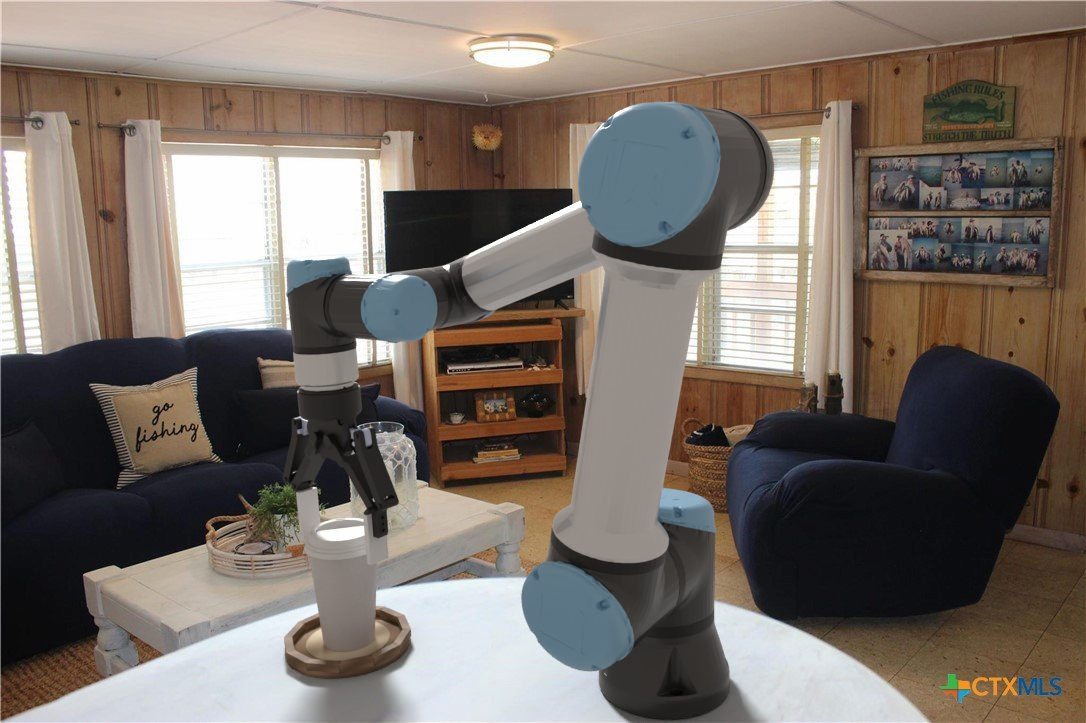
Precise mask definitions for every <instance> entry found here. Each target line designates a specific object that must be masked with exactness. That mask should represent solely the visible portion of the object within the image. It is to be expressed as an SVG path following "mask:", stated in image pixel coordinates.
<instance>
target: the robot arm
mask: <svg viewBox="0 0 1086 723" xmlns="http://www.w3.org/2000/svg"><path fill="white" fill-rule="evenodd" d="M578 168H579V169H578V177H577V191H578V198H579V201H578V202H575V203H573V204H571V205H569V206H567V207H564V208H563V209H560V210H559V211H556V212H554V213H553V214H549V215H548V216H545V217H544V218H542V219H539V220H537V221H536V222H535V221H534V222H533V223H531V224H528V225H527V226H525V227H523V228H521V229H518V230H517V231H514V232H512V233H510V234H507V235H506V236H504V237H502V238H500V239H497V240H496V241H493V242H492V243H489V244H487V245H485V246H483V247H481V248H478V249H477V250H474V251H472V252H470V253H469V254H467V255H464V256H462V257H460V258H458V259H456V260H454V261H452V262H449V263H447V264H444V265H439V266H433V267H426V268H419V269H410V270H409V269H408V270H401V271H394V272H388V273H387V272H386V273H376V274H375V273H374V274H367V273H366V274H355V273H353V271H352V269H351V265H350V261H349V259H348V258H347V257H345V256H341V255H326V256H325V255H323V256H309V257H299V258H294V259H292V260H290V261H289V262H288V264H287V266H286V293H285V294H286V298H287V302H288V311H289V312H288V313H289V321H290V332H291V340H292V348H293V349H292V350H293V352H292V354H293V356H292V357H293V365H294V377H295V383H296V384H297V385H298V386H300V387H298V390H297V391H296V393H297V394H296V395H297V404H298V405H297V406H298V413H299V414H298V415H299V416H297V417H292V419H291V437H290V443H289V446H288V451H287V456H286V461H285V464H284V465H285V466H284V468H283V469H284V470H283V474H282V481H283V483H284V484H287V485H288V484H290V486H291V489H292V490H293V491H294V492H295V493H294V494H295V502H296V510H297V514H298V515H297V517H298V524H299V535H300V541H302V542H306V540H307V538H308V537H309V534H310V530H311V529H312V528H313V527H314V526H316V525H318V524H320V523H321V517H320V516H321V515H320V506H319V495H318V487H317V486H316V487H315V486H314V485H317V484H318V483H317V482H316V478H317V476H318V474H319V472H320V470H321V469H322V468H321V467H322V466H323V463H324V462H325V460H326V459H330V460H331V461H333V462H336V463H337V465H338V466H339V468H343V470H345V472H346V474H347V475H348V477H349V479H350V480H351V483H352V485H353V487H354V488H355V491H356V492H357V493H358V495H359V497H360V499H361V501H362V502H363V505H364V506H365V507H366V509H365V510H364V511H363V512H362V519H363V521H364V533H365V544H366V556H367V564H369V565H373V564H375V563H377V564H378V563H379V562H380V563H381V562H382V561H385V560H387V559H388V558H389V557H390V556H389V547H388V546H389V545H388V537H387V536H388V534H389V524H388V509H391V508H393V507H396V506H398V505H399V503H400V500H399V497H398V495H397V491H396V489H395V487H394V485H393V482H392V481H393V480H392V479H391V476H390V473H389V471H388V469H387V465H386V463H385V461H384V458H383V456H382V453H381V450H380V447H379V445H378V439H377V432H376V429H375V428H374V426H368V427H365V428H359V426H358V425H357V421H356V420H357V416H358V415H359V414H361V412H362V410H363V406H362V404H363V403H362V394H361V385H360V384H359V383H358V382H356V381H357V380H358V379H359V378H360V377H359V376H360V375H359V374H360V373H359V372H360V371H359V362H358V355H357V354H358V353H357V346H358V345H357V339H358V340H359V339H360V340H369V341H370V340H371V341H381V342H387V343H390V344H391V343H392V344H398V343H401V342H403V343H405V342H406V343H407V342H409V343H411V342H417V341H419V340H422V339H423V338H424V337H425V336H426V335H427V334H428V333H429V332H430V331H435V330H438V329H443V328H447V327H453V326H458V325H463V324H464V325H469V324H472V323H473V324H474V323H475V322H479V321H481V320H483V319H486V318H488V317H490V316H492V314H494V313H495V311H496V310H498V309H500V308H503V307H506V306H508V305H510V304H513V303H515V302H517V301H520V300H523V299H525V298H527V297H530V296H532V295H534V294H537V293H539V292H542V291H544V290H547V289H549V288H552V287H554V286H557V285H559V284H562V283H565V282H566V281H569V280H572V279H573V278H577V277H579V276H581V275H583V274H586V273H588V272H591V271H594V270H596V269H599V268H600V267H602V268H603V270H604V272H605V273H604V279H603V286H602V292H601V298H600V299H601V300H600V306H599V313H598V319H597V325H596V332H595V333H596V334H595V339H594V340H595V341H594V347H593V354H592V359H591V360H592V361H591V367H590V373H589V381H588V386H587V392H586V393H587V394H586V400H585V407H584V414H583V420H582V427H581V432H580V438H579V439H580V440H579V446H578V447H579V448H578V452H577V453H578V454H577V460H576V467H575V473H574V480H573V487H572V492H571V501H570V504H569V505H566V506H565V507H564V508H562V509H560V510H559V511H558V512H556V514H555V515H554V517H553V520H552V525H551V531H550V536H549V544H548V545H549V546H548V550H547V556H546V558H545V561H543V562H540V563H539V564H537V565H536V566H534V567H533V568H532V570H531V572H530V573H529V574H528V575H527V576H526V578H525V580H524V582H523V585H522V587H521V594H520V596H521V597H520V598H521V601H520V602H521V609H522V613H523V616H524V619H525V622H526V624H527V626H528V628H529V631H530V632H531V633H533V635H534V636H535V638H536V641H537V643H538V644H539V645H540V646H541V647H542V648H543V650H545V651H546V653H548V654H549V655H550V656H551V657H552V658H553V659H555V660H556V661H558V662H559V663H561V664H563V665H564V666H567V667H569V668H570V669H574V670H577V671H581V672H590V673H591V672H598V685H599V689H600V691H601V693H602V695H604V697H605V698H606V699H607V700H608V701H609V702H611V703H612V704H613V705H614V706H616V707H618V708H619V709H621V710H624V711H626V712H629V713H632V714H635V715H637V716H642V717H646V718H652V719H658V720H659V719H661V720H662V719H663V720H676V719H677V720H678V719H686V718H691V717H697V716H700V715H703V714H706V713H708V712H710V711H712V710H714V709H716V708H717V707H718V706H720V705H721V704H722V703H723V702H724V701H725V700H726V698H727V697H728V695H729V692H730V684H731V683H730V682H731V681H730V679H731V678H730V677H731V676H730V674H731V672H730V666H729V662H728V660H727V658H726V655H725V652H724V648H723V645H722V642H721V639H720V636H719V634H718V630H717V627H716V623H715V596H716V595H715V593H716V592H715V591H716V590H715V588H716V586H715V585H716V584H715V583H716V582H715V581H716V534H717V531H718V530H717V528H716V523H715V521H716V520H715V509H714V507H713V505H712V504H711V502H710V501H709V500H708V499H706V498H704V497H703V496H700V495H699V494H696V493H693V492H688V491H685V490H679V489H673V488H667V487H666V488H665V487H664V485H665V484H664V482H665V478H666V477H665V476H666V472H667V466H668V461H669V460H668V459H669V456H670V455H669V454H670V449H671V444H672V441H673V440H672V439H673V434H674V428H675V423H676V417H677V411H678V406H679V400H680V394H681V389H682V384H683V378H684V373H685V368H686V362H687V357H688V352H689V345H690V342H691V334H692V330H693V325H694V324H693V323H694V318H695V313H696V307H697V303H698V302H697V301H698V297H699V296H698V295H699V291H700V290H699V289H700V287H701V285H702V284H703V283H704V282H705V281H706V280H708V279H710V278H711V277H712V276H714V275H715V274H717V273H718V272H720V269H721V267H722V260H723V255H724V251H725V246H726V239H727V235H728V232H730V231H732V230H735V229H737V228H739V227H741V226H742V225H744V224H746V223H747V222H748V221H750V220H751V219H752V218H753V217H754V216H755V215H757V213H758V212H759V211H760V210H761V209H762V207H763V206H764V205H765V203H766V201H767V200H768V197H769V195H770V192H771V189H772V187H773V184H774V176H775V175H774V174H775V162H774V156H773V151H772V149H771V146H770V144H769V141H768V139H767V137H765V135H764V133H763V132H762V130H761V129H760V128H759V127H758V126H757V125H756V124H755V123H753V121H751V119H749V118H747V117H746V116H744V115H742V114H739V113H737V112H734V111H731V110H729V109H722V108H715V107H714V108H712V107H711V108H710V107H704V106H697V105H692V104H686V103H682V102H677V101H675V100H673V101H661V100H659V101H655V102H641V103H636V104H633V105H630V106H627V107H625V108H622V109H620V110H619V111H617V112H615V113H614V114H613V115H612V116H610V117H609V118H608V119H607V120H606V121H604V122H603V123H602V124H600V126H599V127H598V128H597V129H596V131H595V132H594V133H593V134H592V136H591V138H590V139H589V141H588V143H587V144H586V147H585V149H584V151H583V153H582V156H581V159H580V163H579V167H578ZM353 452H354V453H353Z"/></svg>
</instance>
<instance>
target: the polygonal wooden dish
mask: <svg viewBox="0 0 1086 723" xmlns="http://www.w3.org/2000/svg"><path fill="white" fill-rule="evenodd" d="M411 637H412V628H411V626H410V624H409V622H408V619H407V617H406V615H405V614H403V613H401V612H399V611H396V610H394V609H392V608H389V607H387V606H383V605H376V615H375V638H374V640H373V641H372V643H370V644H369V645H368V646H366V647H364V648H361V649H358V650H354V651H347V652H339V651H333V650H330V649H328V648H326V647H325V645H324V643H323V637H322V631H321V625H320V619H319V612H317V613H315V614H313V615H311V616H309V617H306V618H304V619H302V620H300V621H297V623H296V624H295V625H294V626H293V627H291V629H290V630H289V631H288V632H287V633H286V634H285V635H284V636H283V640H284V641H283V642H284V656H285V661H286V663H287V665H288V666H289V667H290V669H292V670H294V671H295V672H297V673H299V674H301V675H304V676H307V677H311V678H318V679H330V680H331V679H345V678H347V679H348V678H353V677H359V676H363V675H367V674H370V673H373V672H376V671H378V670H379V671H380V670H381V669H383V668H385V667H388V666H389V665H391V664H393V663H394V662H396V661H397V660H398V659H400V658H401V657H402V656H403V655H404V654H405V653H406V652H407V651H408V648H409V647H410V644H411Z"/></svg>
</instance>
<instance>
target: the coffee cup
mask: <svg viewBox="0 0 1086 723" xmlns="http://www.w3.org/2000/svg"><path fill="white" fill-rule="evenodd" d="M304 542H305V543H304V548H303V552H305V554H306V555H307V556H308V559H309V564H310V571H311V576H312V581H313V588H314V592H315V599H316V600H315V601H316V606H317V611H318V612H317V613H319V619H320V625H321V631H322V637H323V643H324V645H325V647H326V648H328V649H330V650H333V651H339V652H347V651H354V650H358V649H361V648H364V647H366V646H368V645H369V644H370V643H372V641H373V640H374V638H375V615H376V606H377V580H378V579H377V578H378V577H377V576H378V562H377V563H375V564H373V565H369V564H367V556H366V544H365V533H364V521H363V518H358V517H342V518H335V519H329V520H326V521H322V522H320V524H318V525H316V526H314V527H313V528H312V529H311V530H310V534H309V537H308V538H307V540H306V541H304Z"/></svg>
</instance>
